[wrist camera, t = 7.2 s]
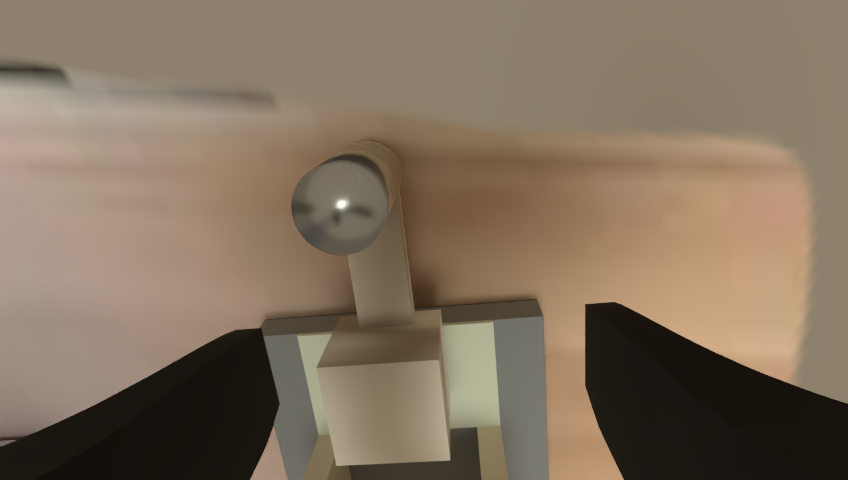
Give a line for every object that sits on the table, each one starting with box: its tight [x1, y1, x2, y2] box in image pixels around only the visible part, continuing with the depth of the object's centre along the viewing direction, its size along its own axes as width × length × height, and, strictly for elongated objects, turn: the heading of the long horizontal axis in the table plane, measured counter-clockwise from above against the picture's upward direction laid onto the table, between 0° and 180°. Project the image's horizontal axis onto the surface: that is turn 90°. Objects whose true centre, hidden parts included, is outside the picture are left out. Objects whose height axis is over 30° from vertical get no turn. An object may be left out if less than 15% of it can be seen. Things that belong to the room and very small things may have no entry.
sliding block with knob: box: [292, 141, 450, 466], centre depth 16 cm, size 4×11×5 cm, turn 6°
